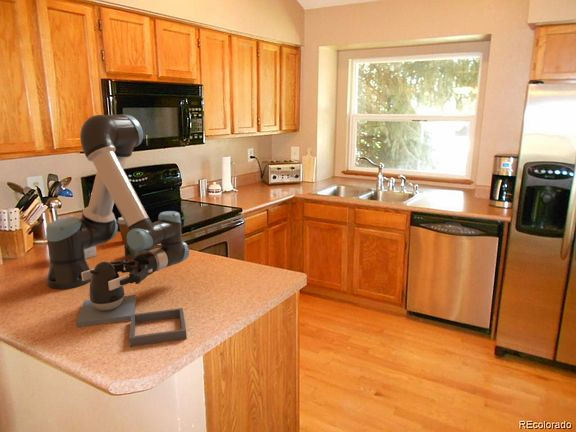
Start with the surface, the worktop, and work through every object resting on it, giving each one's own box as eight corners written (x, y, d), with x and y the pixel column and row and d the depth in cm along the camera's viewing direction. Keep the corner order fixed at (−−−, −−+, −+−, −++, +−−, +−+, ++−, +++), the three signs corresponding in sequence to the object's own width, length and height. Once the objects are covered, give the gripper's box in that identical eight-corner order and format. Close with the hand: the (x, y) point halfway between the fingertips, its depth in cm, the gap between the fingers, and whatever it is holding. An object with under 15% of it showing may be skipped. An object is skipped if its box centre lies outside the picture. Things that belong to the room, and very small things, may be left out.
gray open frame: (130, 346, 118) (129, 338, 117) (132, 322, 132) (131, 314, 131) (186, 338, 122) (186, 330, 122) (182, 315, 136) (182, 307, 136)
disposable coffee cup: (135, 244, 209) (133, 220, 206) (116, 244, 209) (113, 220, 206) (142, 238, 218) (140, 215, 216) (123, 238, 218) (121, 215, 216)
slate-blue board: (77, 327, 129) (76, 322, 128) (84, 304, 144) (84, 300, 143) (134, 319, 133) (133, 315, 133) (135, 298, 148) (135, 294, 148)
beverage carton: (138, 252, 198) (137, 238, 196) (169, 259, 189) (168, 245, 187) (124, 257, 191) (123, 243, 189) (156, 265, 182) (155, 250, 180)
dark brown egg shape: (83, 311, 135) (76, 265, 131) (107, 297, 145) (102, 254, 141) (109, 317, 132) (103, 270, 128) (132, 302, 141) (127, 258, 137)
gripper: (177, 279, 145) (122, 302, 127) (128, 265, 158) (73, 284, 141) (175, 257, 143) (120, 278, 126) (126, 245, 156) (70, 262, 139)
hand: (95, 281), depth 133 cm, fingers open, 13 cm apart
